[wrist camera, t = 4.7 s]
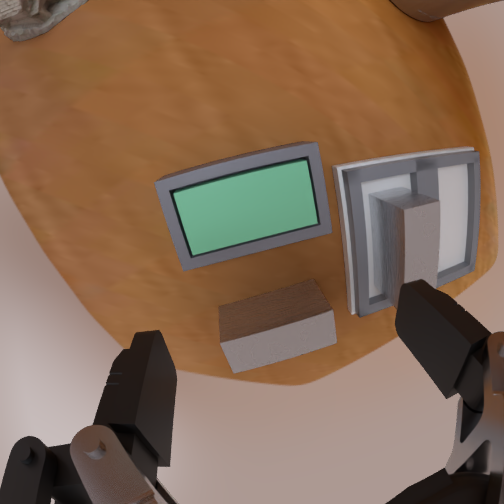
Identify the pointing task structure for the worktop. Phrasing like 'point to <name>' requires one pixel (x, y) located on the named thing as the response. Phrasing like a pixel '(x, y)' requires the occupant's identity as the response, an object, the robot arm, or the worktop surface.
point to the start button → (246, 206)
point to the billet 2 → (404, 239)
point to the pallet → (422, 181)
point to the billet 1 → (276, 326)
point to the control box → (234, 166)
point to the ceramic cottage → (33, 16)
